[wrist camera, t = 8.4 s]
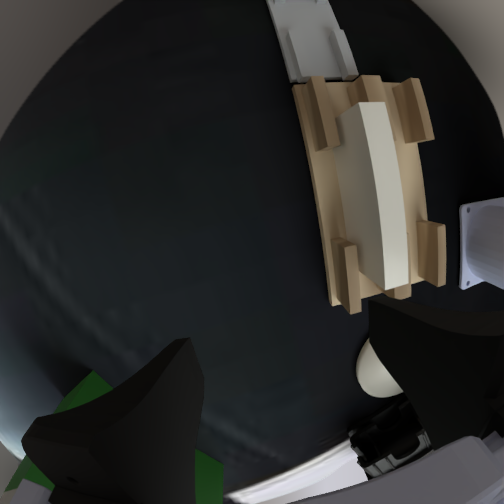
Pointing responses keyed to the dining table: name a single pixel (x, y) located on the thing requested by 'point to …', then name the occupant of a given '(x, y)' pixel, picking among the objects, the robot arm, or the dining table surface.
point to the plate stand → (311, 40)
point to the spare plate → (374, 374)
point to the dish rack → (328, 192)
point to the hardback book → (88, 390)
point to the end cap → (389, 438)
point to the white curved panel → (372, 193)
